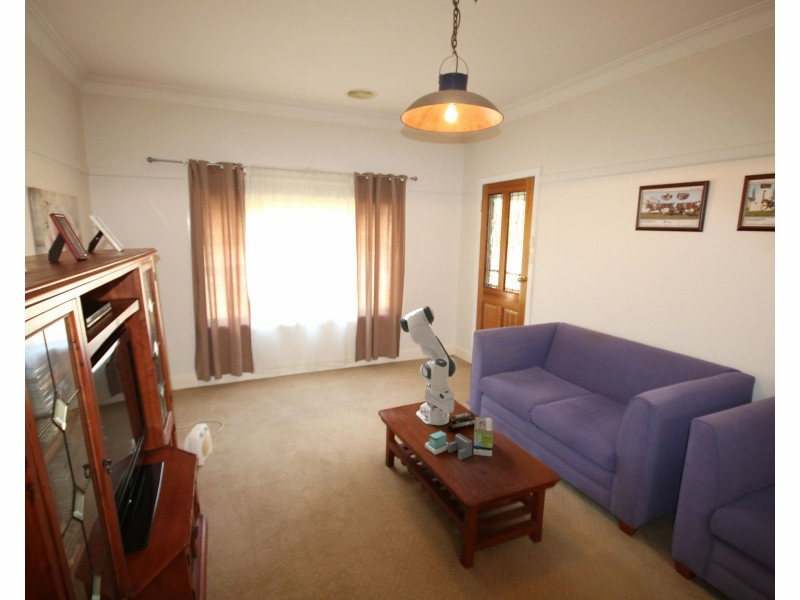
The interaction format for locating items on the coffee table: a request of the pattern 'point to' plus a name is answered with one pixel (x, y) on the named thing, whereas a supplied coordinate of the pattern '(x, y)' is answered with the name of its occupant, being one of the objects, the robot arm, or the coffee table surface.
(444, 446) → the tray
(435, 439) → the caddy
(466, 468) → the coffee table surface
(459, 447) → the block
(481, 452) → the tea box
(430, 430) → the coffee table surface
